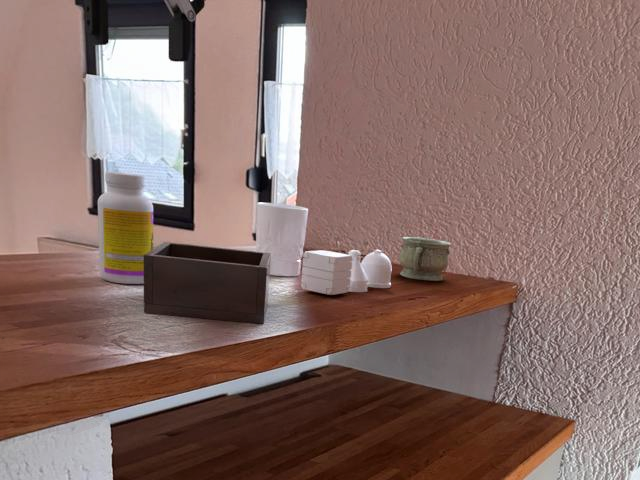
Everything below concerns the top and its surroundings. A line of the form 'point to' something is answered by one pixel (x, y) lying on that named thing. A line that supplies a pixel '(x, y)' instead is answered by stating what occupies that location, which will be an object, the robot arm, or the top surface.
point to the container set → (344, 271)
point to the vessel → (424, 258)
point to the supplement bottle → (124, 228)
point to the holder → (207, 282)
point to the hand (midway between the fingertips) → (140, 53)
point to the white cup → (281, 236)
